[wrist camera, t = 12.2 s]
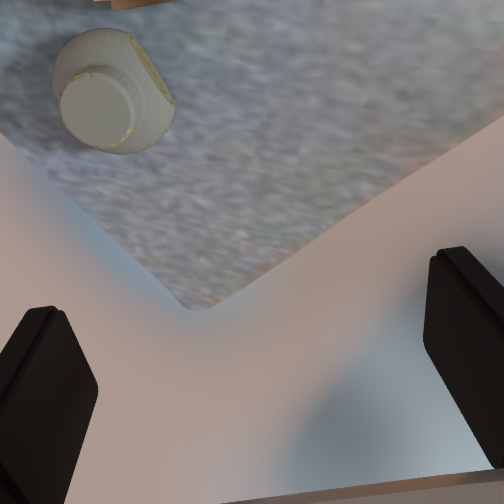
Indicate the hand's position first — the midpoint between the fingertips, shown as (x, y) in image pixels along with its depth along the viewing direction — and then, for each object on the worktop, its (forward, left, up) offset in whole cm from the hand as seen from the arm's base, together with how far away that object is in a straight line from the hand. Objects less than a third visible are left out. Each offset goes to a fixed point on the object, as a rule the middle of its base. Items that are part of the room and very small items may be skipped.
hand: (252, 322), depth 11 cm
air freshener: (+11, -1, -37) cm, 38 cm away
